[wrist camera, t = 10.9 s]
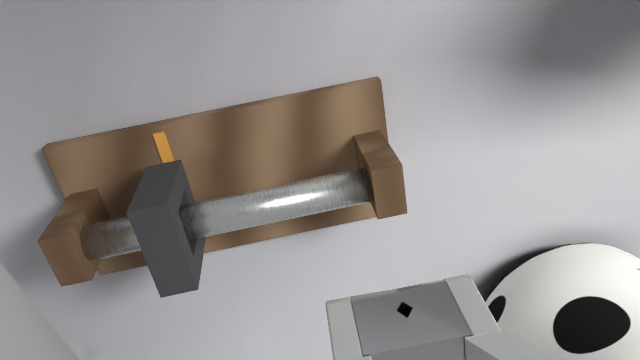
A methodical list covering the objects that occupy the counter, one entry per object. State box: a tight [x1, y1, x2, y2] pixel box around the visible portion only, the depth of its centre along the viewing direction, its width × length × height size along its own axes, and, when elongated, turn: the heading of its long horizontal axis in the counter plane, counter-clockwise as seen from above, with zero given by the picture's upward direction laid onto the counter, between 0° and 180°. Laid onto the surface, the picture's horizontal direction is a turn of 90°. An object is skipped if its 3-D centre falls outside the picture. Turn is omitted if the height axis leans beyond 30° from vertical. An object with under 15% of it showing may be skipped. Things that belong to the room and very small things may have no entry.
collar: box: [126, 160, 206, 297], centre depth 34 cm, size 2×6×6 cm, turn 10°
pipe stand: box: [38, 77, 407, 287], centre depth 35 cm, size 24×11×7 cm, turn 100°
